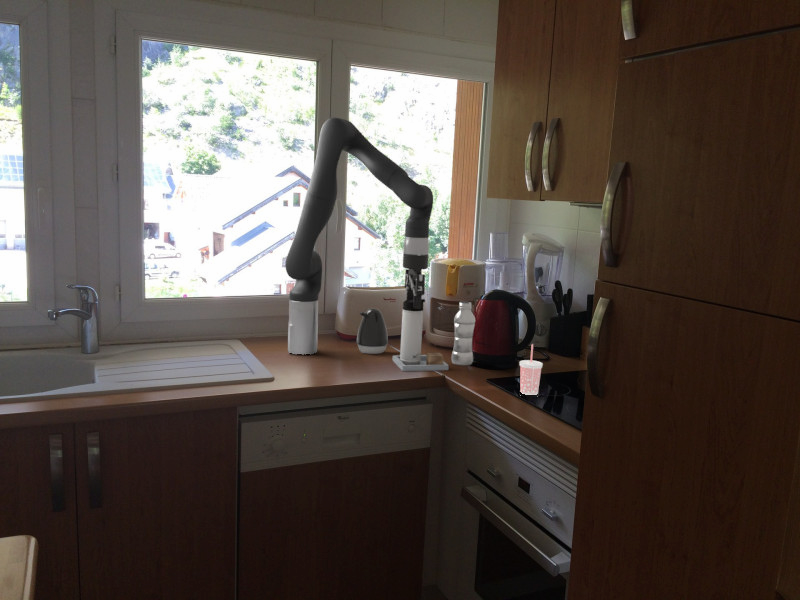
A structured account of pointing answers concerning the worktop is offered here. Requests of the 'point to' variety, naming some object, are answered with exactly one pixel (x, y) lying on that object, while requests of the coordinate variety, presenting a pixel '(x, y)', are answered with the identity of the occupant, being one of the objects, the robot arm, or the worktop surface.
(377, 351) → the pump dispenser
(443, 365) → the tray
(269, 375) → the worktop surface
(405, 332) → the travel mug
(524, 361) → the beverage cup
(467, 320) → the plastic bottle
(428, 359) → the walnut block
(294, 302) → the robot arm
